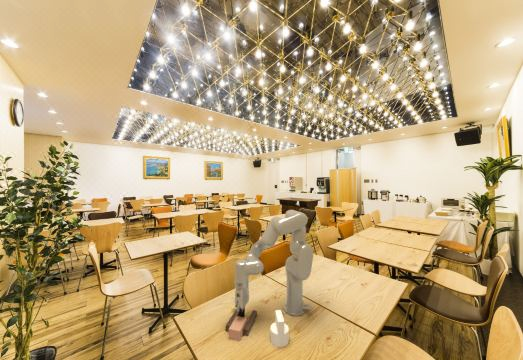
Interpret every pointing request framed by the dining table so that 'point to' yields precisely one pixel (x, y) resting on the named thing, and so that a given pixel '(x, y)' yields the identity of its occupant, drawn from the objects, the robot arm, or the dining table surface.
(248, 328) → the chute
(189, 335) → the dining table surface
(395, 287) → the dining table surface
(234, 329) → the block
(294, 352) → the dining table surface
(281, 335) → the base with upright slab
